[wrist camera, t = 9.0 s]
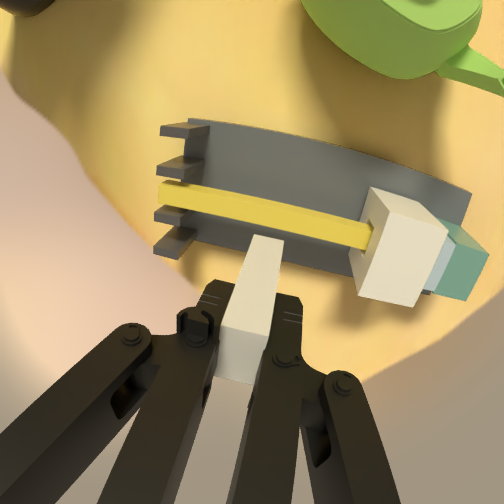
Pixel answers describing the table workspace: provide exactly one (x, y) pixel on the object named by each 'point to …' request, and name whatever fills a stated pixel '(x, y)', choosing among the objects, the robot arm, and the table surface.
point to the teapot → (410, 37)
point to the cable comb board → (299, 200)
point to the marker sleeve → (396, 248)
